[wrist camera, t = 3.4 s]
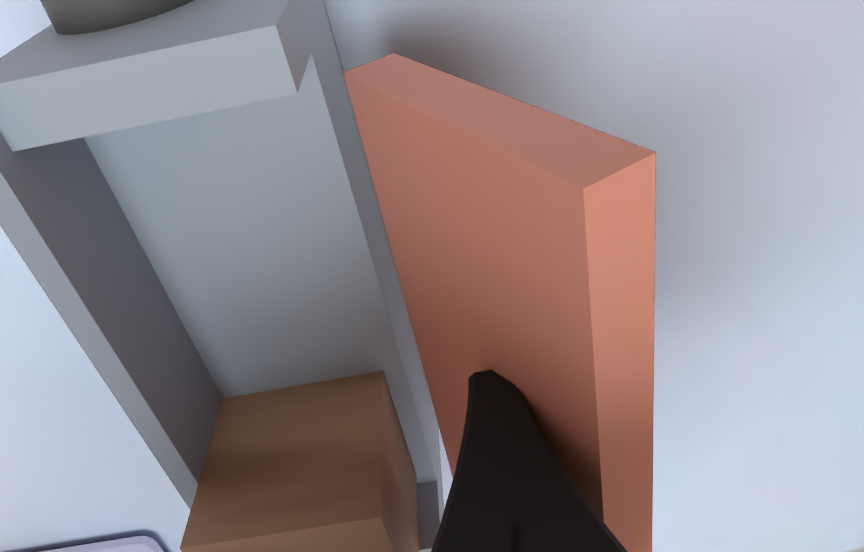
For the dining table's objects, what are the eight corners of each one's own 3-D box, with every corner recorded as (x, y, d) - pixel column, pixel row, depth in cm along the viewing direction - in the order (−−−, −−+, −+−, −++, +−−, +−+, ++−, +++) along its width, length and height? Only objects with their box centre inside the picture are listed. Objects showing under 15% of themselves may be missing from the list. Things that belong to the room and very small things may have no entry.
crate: (416, 474, 18) (421, 621, 15) (275, 497, 18) (250, 645, 15) (383, 370, 16) (381, 517, 13) (222, 398, 16) (180, 548, 13)
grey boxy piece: (444, 446, 22) (457, 610, 18) (298, 470, 22) (275, 636, 18) (293, -111, 13) (238, -63, 8) (46, -55, 13) (-137, 20, 9)
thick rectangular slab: (491, 462, 18) (658, 647, 14) (454, 485, 18) (614, 684, 13) (403, 49, 12) (669, 145, 7) (343, 72, 11) (583, 188, 7)
